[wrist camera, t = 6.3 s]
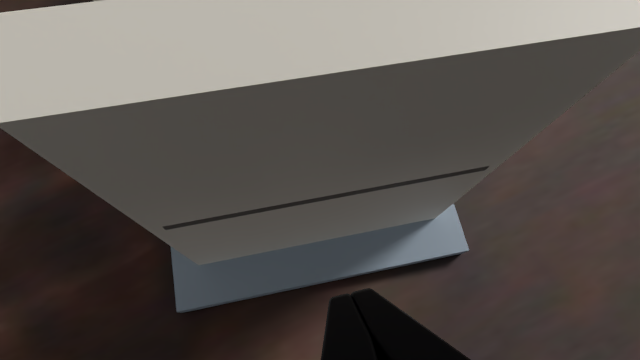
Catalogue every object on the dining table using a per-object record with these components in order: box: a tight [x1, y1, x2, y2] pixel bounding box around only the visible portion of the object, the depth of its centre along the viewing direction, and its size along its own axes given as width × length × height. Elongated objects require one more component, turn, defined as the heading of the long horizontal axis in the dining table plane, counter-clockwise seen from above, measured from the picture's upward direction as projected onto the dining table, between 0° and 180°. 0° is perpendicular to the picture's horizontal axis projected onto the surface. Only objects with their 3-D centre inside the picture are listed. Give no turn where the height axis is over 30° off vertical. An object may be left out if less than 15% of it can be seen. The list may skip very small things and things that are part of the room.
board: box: [171, 203, 469, 313], centre depth 21 cm, size 25×12×1 cm, turn 12°
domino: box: [0, 0, 640, 265], centre depth 12 cm, size 2×10×12 cm, turn 102°
